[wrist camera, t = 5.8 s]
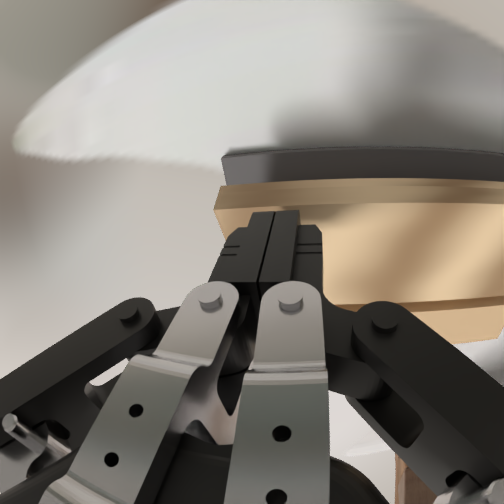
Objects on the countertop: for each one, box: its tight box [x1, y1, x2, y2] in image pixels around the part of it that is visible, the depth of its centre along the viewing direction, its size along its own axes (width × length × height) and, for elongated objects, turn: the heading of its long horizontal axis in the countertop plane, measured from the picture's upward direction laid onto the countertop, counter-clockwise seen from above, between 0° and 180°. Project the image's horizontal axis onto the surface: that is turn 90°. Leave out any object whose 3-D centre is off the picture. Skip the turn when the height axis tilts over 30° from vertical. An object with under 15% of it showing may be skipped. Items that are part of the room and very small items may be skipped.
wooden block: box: [395, 453, 438, 504], centre depth 18 cm, size 4×11×18 cm, turn 19°
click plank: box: [214, 178, 504, 305], centre depth 13 cm, size 16×7×1 cm, turn 99°
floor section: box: [221, 147, 504, 344], centre depth 15 cm, size 17×12×2 cm
